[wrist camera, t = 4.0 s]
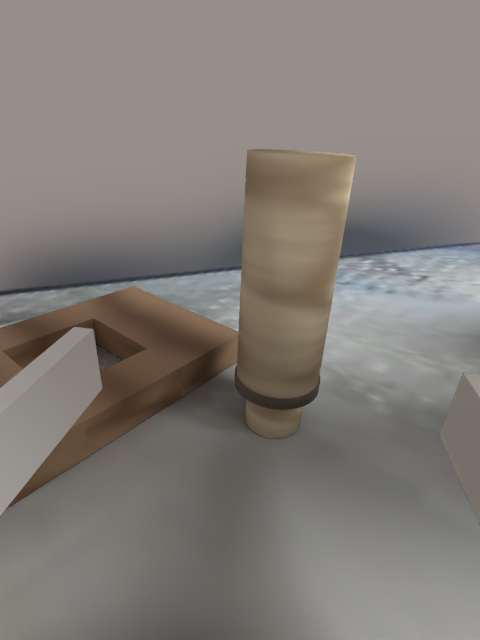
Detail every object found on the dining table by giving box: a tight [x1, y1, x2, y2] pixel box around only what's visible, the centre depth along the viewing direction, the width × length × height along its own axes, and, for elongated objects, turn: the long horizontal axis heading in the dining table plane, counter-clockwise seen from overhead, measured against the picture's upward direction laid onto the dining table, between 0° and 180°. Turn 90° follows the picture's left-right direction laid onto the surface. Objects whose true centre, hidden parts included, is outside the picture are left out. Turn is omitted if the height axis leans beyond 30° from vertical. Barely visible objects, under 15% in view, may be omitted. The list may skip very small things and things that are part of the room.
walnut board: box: [0, 286, 239, 508], centre depth 27 cm, size 20×14×2 cm
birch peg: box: [235, 149, 356, 439], centre depth 21 cm, size 5×5×16 cm
